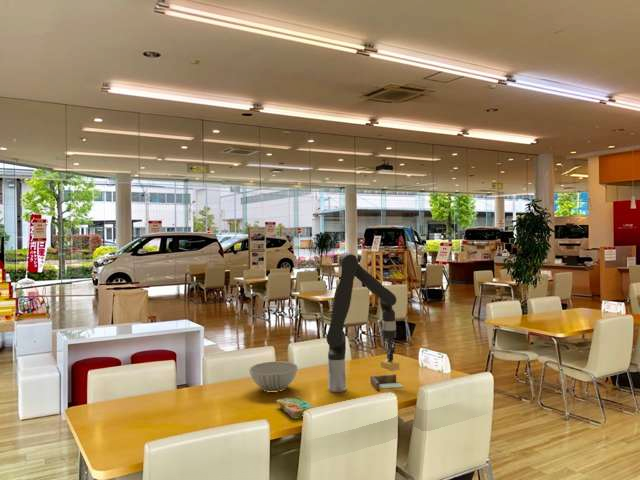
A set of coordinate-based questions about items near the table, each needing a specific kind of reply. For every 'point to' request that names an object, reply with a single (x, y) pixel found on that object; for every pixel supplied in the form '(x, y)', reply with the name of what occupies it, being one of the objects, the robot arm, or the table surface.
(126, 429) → the table surface
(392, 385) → the resting mat
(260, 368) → the decorative bowl
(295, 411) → the puzzle game
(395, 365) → the rubber stamp
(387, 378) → the corner fence
